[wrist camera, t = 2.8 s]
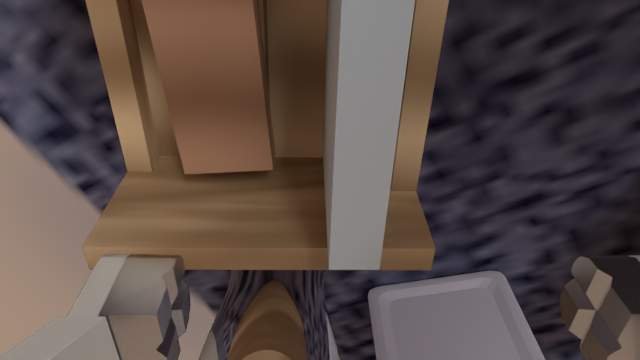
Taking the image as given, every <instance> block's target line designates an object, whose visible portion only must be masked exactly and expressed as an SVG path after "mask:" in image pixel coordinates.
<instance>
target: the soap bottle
mask: <svg viewBox="0 0 640 360" xmlns="http://www.w3.org/2000/svg"><path fill="white" fill-rule="evenodd" d="M368 303H369V310H370V317H371V325H372V332H373V339H374V346H375V353H376V360H545V358H544V356H543V354H542V352H541V349H540V347H539V345H538V343H537V341H536V339H535V337H534V335H533V333H532V331H531V329H530V327H529V325H528V323H527V321H526V319H525V316H524V314H523V312H522V310H521V308H520V306H519V304H518V302H517V300H516V298H515V296H514V294H513V292H512V290H511V288H510V285H509V283H508V281H507V279H506V277H505V276H504V275H503V274H502V273H501V272H499V271H491V270H490V271H483V272H476V273H469V274H462V275H455V276H448V277H441V278H434V279H427V280H420V281H413V282H406V283H399V284H392V285H385V286H378V287H375V288H373V289H371V290H369V293H368Z"/></svg>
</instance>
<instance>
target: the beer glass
mask: <svg viewBox="0 0 640 360" xmlns="http://www.w3.org/2000/svg"><path fill="white" fill-rule="evenodd" d="M324 272H325V270H231V276H230V280H229V281H230V282H229V286H228V290H227V292H226V295H225V297H224V300H223V302H222V305H221V307H220V309H219V312H218V314H217V316H216V318H215V321H214V323H213V325H212V328H211V330H210V332H209V335H208V337H207V339H206V342H205V344H204V346H203V349H202V352H201V354H200V357H199V360H340V356H339V351H338V348H337V344H336V340H335V336H334V332H333V328H332V325H331V321H330V317H329V314H328V310H327V306H326V302H325V297H324V290H323V278H324Z"/></svg>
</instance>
